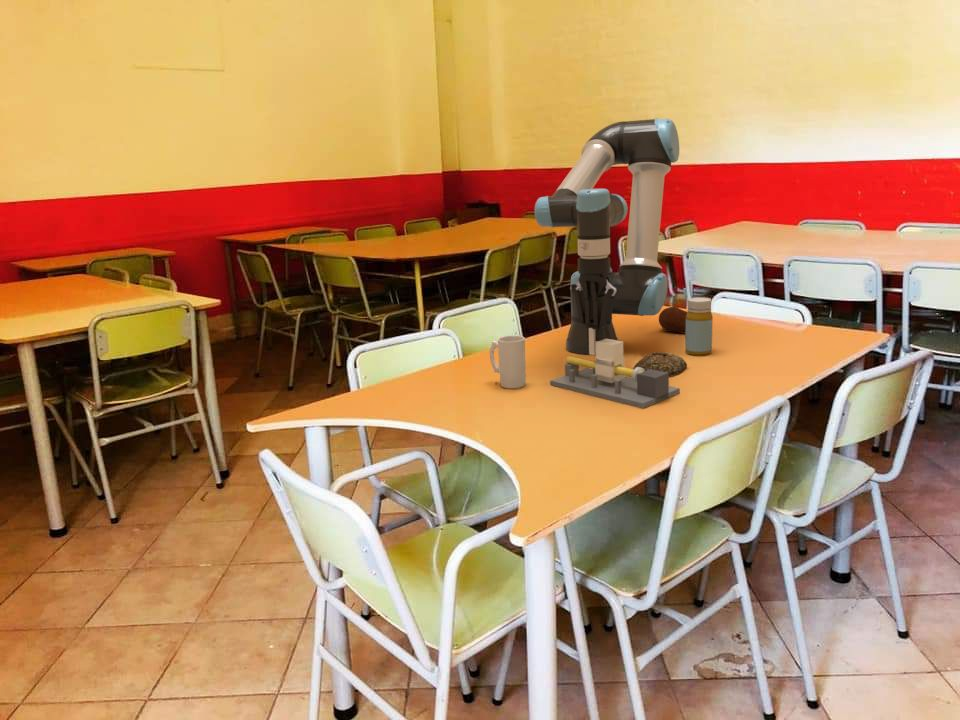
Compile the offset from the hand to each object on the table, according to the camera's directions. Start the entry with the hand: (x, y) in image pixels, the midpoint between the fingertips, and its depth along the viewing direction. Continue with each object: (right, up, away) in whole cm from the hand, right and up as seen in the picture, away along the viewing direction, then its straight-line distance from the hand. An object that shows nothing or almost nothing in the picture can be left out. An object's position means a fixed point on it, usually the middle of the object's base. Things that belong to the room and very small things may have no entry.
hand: (595, 353), depth 181 cm
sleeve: (+3, -6, -1) cm, 7 cm away
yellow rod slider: (+4, -9, -1) cm, 10 cm away
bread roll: (+19, -5, +12) cm, 23 cm away
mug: (-21, -8, +7) cm, 23 cm away
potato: (+33, +7, +50) cm, 60 cm away
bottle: (+33, 0, +25) cm, 41 cm away
